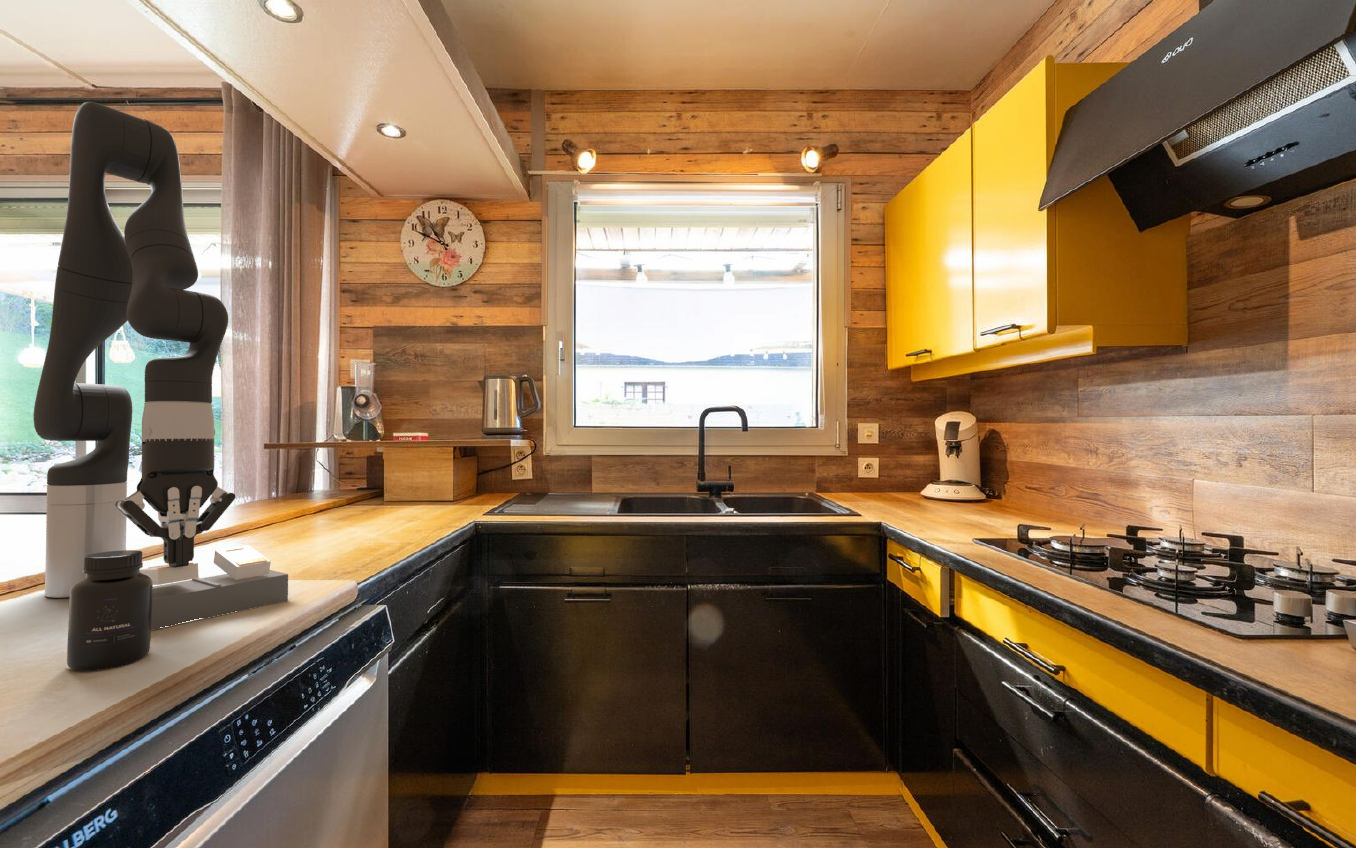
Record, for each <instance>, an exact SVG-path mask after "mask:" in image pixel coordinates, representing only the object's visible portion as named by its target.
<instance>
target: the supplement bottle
mask: <svg viewBox="0 0 1356 848" xmlns="http://www.w3.org/2000/svg"><path fill="white" fill-rule="evenodd" d="M143 567H144V566H143V551H141V550H136V549H134V550H133V549H131V550H130V549H128V550H127V549H126V550H122V551H109V552H101V553H95V554H90V555H87V556H85V558H84V568H83V573H84V574H86V578H84V579H83V580H81V581H79V582H78V583H76V584H75V585H74V586H73V587H72V589H71V591H70V597H69V600H68V601H69V603H68V605H69V606H68V625H67V626H68V627H67V630H68V631H67V647H66V651H67V652H66V655H67V656H66V664H67V667H68V668H69V669H71V670H72V671H77V672H95V671H104V670H108V669H109V670H110V669H113V668H119V667H123V666H127V665H130V663H131V664H133V663H136V662H138V661H140V660H143V659H144V658H145V657H147V656H148V655H149V653H150V650H151V638H152V637H151V636H152V635H151V634H152V631H151V617H152V592H153V587H154V585H153V582H152V580H151V578H150V577H149V576H147V575H145V574H143V573H140V569H143Z"/></svg>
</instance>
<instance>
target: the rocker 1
mask: <svg viewBox="0 0 1356 848" xmlns="http://www.w3.org/2000/svg"><path fill="white" fill-rule="evenodd" d="M140 573H143V574H145V575H147V576H149V577H150V578H151V580H152V582H153V586H159V585H165V584H171V583H177V582H183V581H188V580H192V579H196V578H200V577H199V563H198V562H197V563H195V562H189V565H188V566H183V567H176V568H173V567H171V566H169V564H163V565H162V564H160V565H155V566H149V567H146V568H140Z"/></svg>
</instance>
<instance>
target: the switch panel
mask: <svg viewBox="0 0 1356 848" xmlns="http://www.w3.org/2000/svg"><path fill="white" fill-rule="evenodd" d="M288 595H289V574H288V573H284V572H280V571H276V570H272V569H270V570H269V574H266V575H260V576H255V577H249V578H244V579H238V580H235V579H233V578H232V577H231V576H230V575H228V574H227V573H224V574H218V575H213V576H207V577H202V578H201V577H199V578H196V579H190V580H184V581H178V582H172V583H166V584H161V585H153V592H152V617H151V630H152V631H154V630H153V629H157V630H159V629H158V628H160V627H165V626H170V627H172V626H171V625H175V624H178V623H182V622H186V621H190V620H194V619H199V618H206V619H209V618H208V617H211V618H214V617H213V616H216V617H218V616H217V615H220V616H223V615H222V614H225V615H228V614H227V613H229V614H232V613H231V612H234V613H236V612H235V611H238V612H241V611H242V610H243V611H246V610H250V608H252V609H256V608H259V606H261V607H265V606H268V605H269V604H270V605H273V604H278V603H282V602H288V600H289V596H288ZM255 607H256V608H255ZM175 626H176V625H175Z"/></svg>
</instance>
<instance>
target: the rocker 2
mask: <svg viewBox="0 0 1356 848" xmlns="http://www.w3.org/2000/svg"><path fill="white" fill-rule="evenodd" d="M213 563H214V565H215V566H217V567H218V568H219V569H221V570H222V571H223V572H224V573H225V574H228V575H230V576H231V577H232V578H233V579H235V580H238V579H244V578H249V577H255V576H260V575H266V574H269V570H271V569H270V568H271V560H269V558H267V557H265V556H264V555H263V554H262V553H260V552H258V551H257V550H256V549H254V548H253V547H251V546H250V545H248V544H247V545H242V546H236V547H228V548H221V549H220V548H219V549H216V550H215V551H214V557H213Z"/></svg>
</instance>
